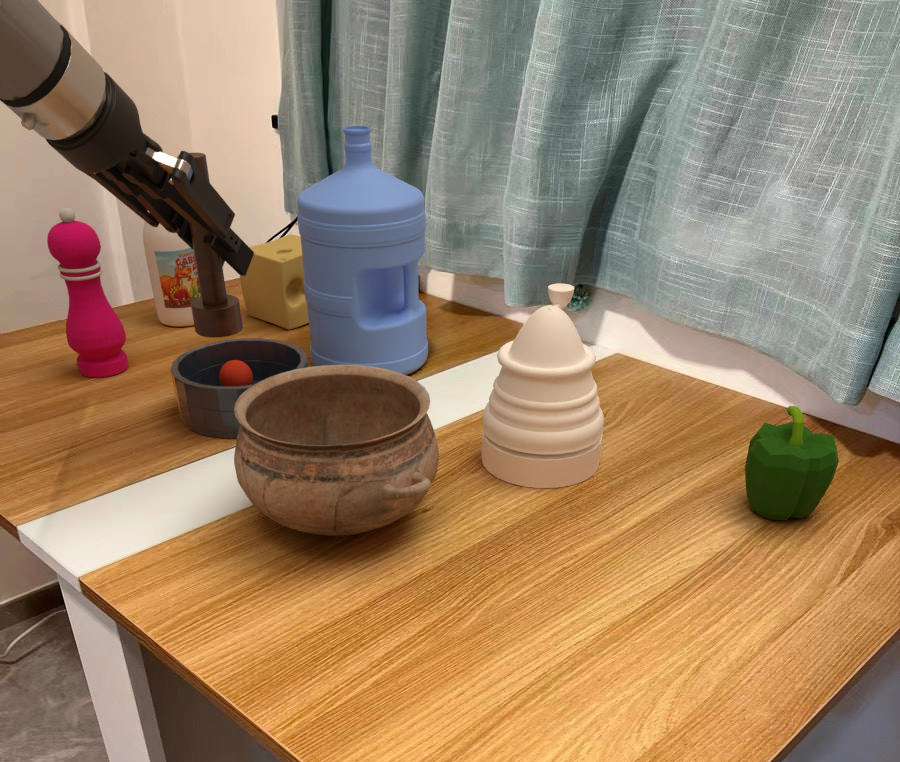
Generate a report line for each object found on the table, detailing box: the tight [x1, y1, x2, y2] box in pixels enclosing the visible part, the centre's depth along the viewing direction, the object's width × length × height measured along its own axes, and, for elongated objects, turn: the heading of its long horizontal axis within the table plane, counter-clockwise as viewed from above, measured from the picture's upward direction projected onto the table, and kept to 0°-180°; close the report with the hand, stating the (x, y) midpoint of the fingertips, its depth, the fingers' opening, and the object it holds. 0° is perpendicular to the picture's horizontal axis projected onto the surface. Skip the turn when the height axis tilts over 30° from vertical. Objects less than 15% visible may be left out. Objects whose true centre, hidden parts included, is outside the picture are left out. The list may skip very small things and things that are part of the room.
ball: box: [219, 360, 253, 387], centre depth 108 cm, size 4×4×4 cm
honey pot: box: [481, 283, 605, 489], centre depth 91 cm, size 13×13×18 cm
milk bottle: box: [142, 210, 201, 327], centre depth 127 cm, size 8×8×20 cm
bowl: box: [170, 337, 309, 440], centre depth 105 cm, size 16×16×6 cm
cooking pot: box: [233, 365, 440, 538], centre depth 83 cm, size 25×19×12 cm
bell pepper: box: [744, 405, 840, 521], centre depth 85 cm, size 8×8×10 cm
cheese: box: [239, 234, 309, 331], centre depth 131 cm, size 10×11×10 cm
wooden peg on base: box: [177, 152, 244, 339], centre depth 90 cm, size 5×5×17 cm
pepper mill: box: [46, 207, 130, 379], centre depth 111 cm, size 7×7×20 cm
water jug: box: [296, 125, 429, 376], centre depth 111 cm, size 16×16×28 cm
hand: (234, 261), depth 94 cm, fingers closed on wooden peg on base, 3 cm apart
